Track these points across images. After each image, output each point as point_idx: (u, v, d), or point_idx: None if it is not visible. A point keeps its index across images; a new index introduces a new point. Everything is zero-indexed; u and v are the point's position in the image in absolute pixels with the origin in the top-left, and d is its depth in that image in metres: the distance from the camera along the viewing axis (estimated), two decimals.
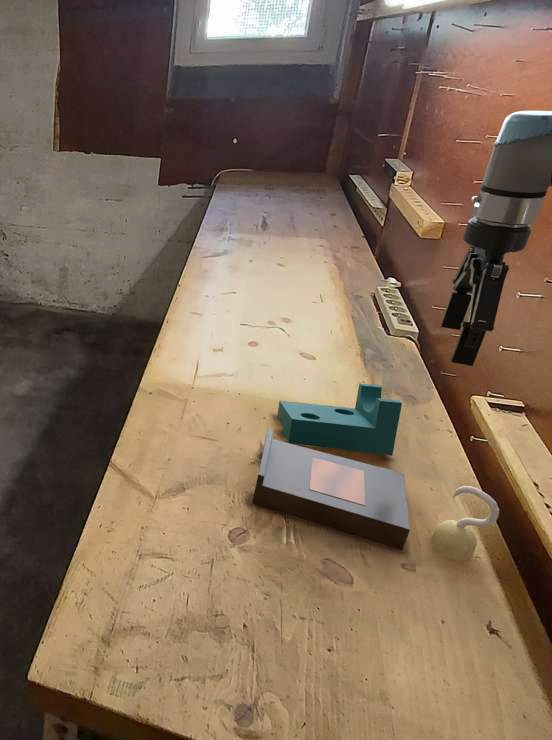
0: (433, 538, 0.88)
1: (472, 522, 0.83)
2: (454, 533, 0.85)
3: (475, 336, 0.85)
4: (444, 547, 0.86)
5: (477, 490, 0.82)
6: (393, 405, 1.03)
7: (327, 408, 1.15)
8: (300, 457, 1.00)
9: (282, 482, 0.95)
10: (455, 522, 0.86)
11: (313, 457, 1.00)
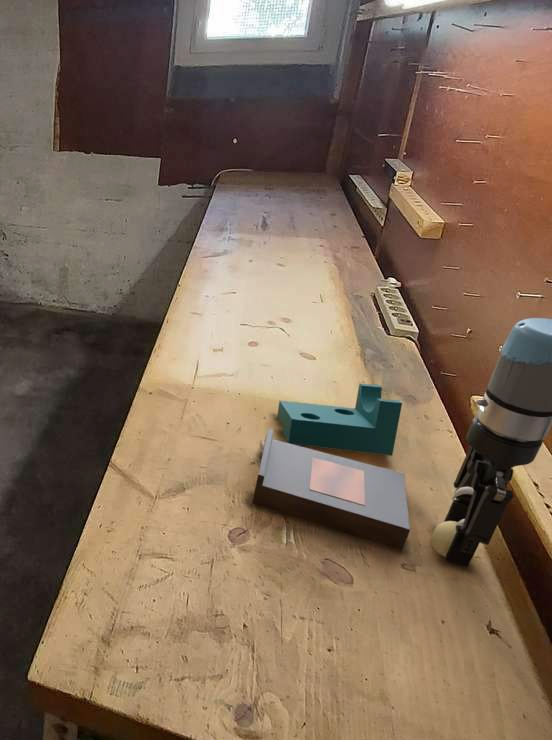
0: (433, 538, 0.88)
1: None
2: (454, 534, 0.85)
3: (470, 543, 0.81)
4: (444, 548, 0.86)
5: None
6: (393, 405, 1.03)
7: (327, 408, 1.15)
8: (300, 457, 1.00)
9: (282, 482, 0.95)
10: (455, 523, 0.86)
11: (313, 457, 1.00)
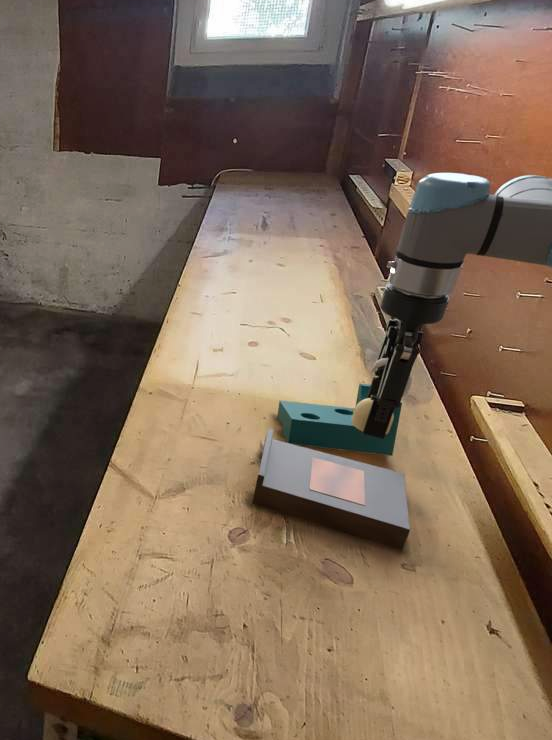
0: (353, 416, 0.88)
1: None
2: None
3: (384, 410, 0.82)
4: (362, 422, 0.87)
5: None
6: None
7: (327, 408, 1.15)
8: (300, 457, 1.00)
9: (282, 482, 0.95)
10: None
11: (313, 457, 1.00)
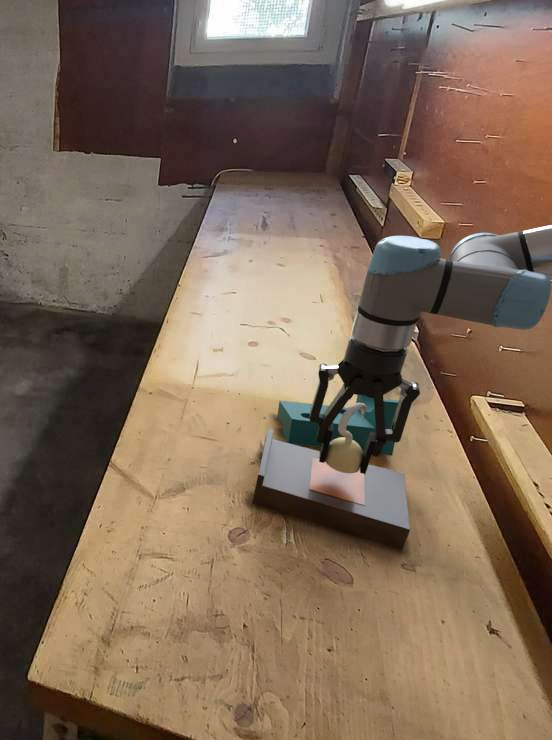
0: None
1: None
2: (337, 438, 0.93)
3: (319, 429, 0.93)
4: None
5: (357, 403, 0.89)
6: (393, 405, 1.03)
7: None
8: (300, 457, 1.00)
9: (282, 482, 0.95)
10: (352, 440, 0.92)
11: (313, 457, 1.00)
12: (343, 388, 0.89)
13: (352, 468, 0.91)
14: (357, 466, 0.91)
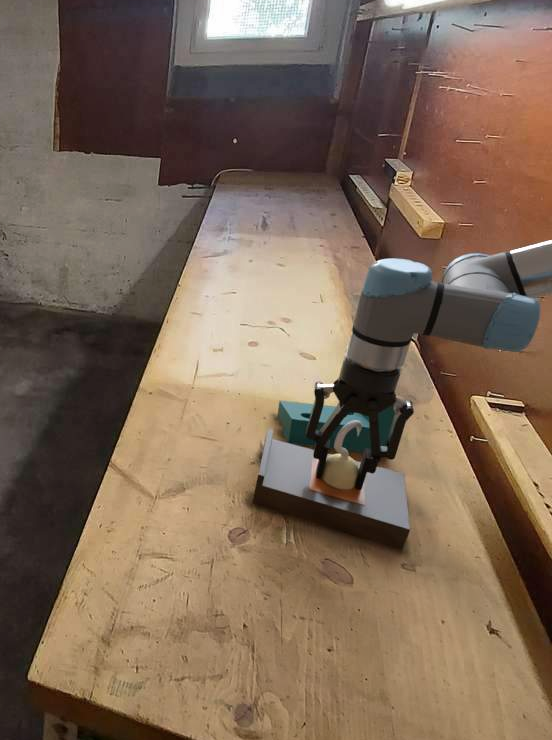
0: None
1: None
2: (333, 455, 0.95)
3: (315, 445, 0.94)
4: None
5: (352, 421, 0.90)
6: (393, 405, 1.03)
7: (327, 408, 1.15)
8: (300, 457, 1.00)
9: (282, 482, 0.95)
10: (348, 457, 0.93)
11: (313, 457, 1.00)
12: (339, 406, 0.90)
13: (348, 484, 0.92)
14: (353, 483, 0.93)
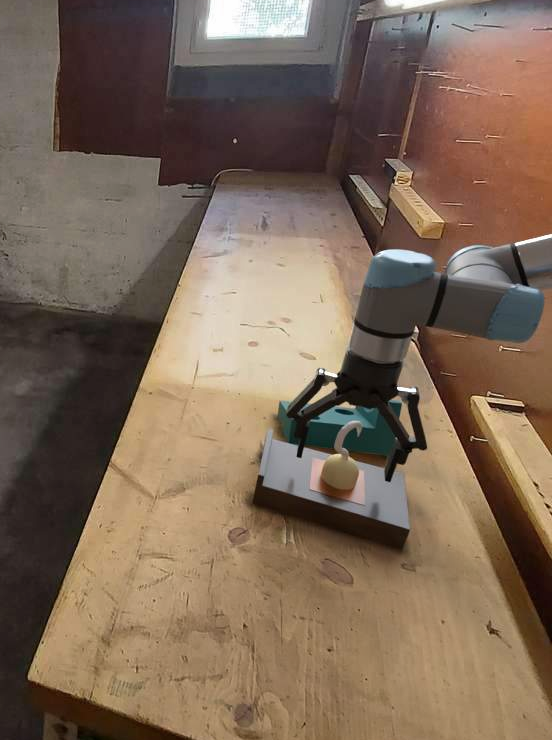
0: None
1: None
2: (333, 455, 0.95)
3: None
4: None
5: (353, 421, 0.90)
6: (393, 405, 1.03)
7: None
8: None
9: (282, 482, 0.95)
10: (348, 457, 0.93)
11: (313, 457, 1.00)
12: (334, 393, 0.90)
13: (348, 484, 0.92)
14: (353, 483, 0.93)
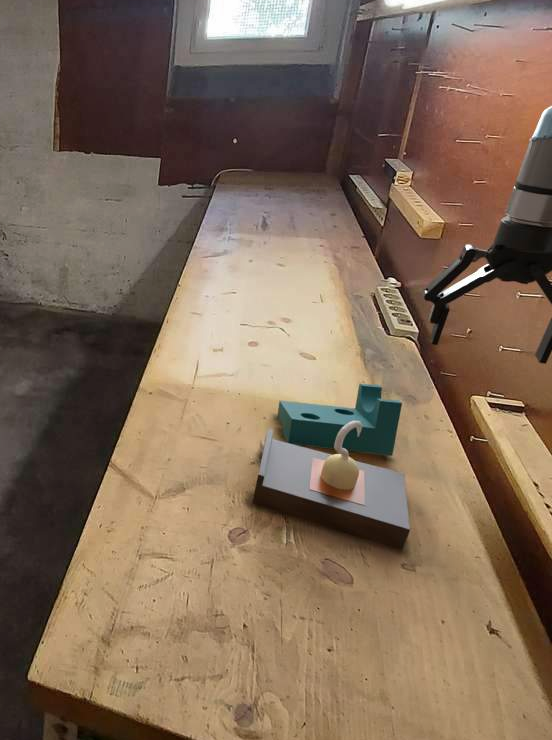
0: None
1: None
2: (333, 455, 0.95)
3: (432, 309, 0.90)
4: None
5: (353, 421, 0.90)
6: (393, 405, 1.03)
7: (327, 408, 1.15)
8: (300, 457, 1.00)
9: (282, 482, 0.95)
10: (348, 457, 0.93)
11: (313, 457, 1.00)
12: (482, 271, 0.85)
13: (348, 484, 0.92)
14: (353, 483, 0.93)
